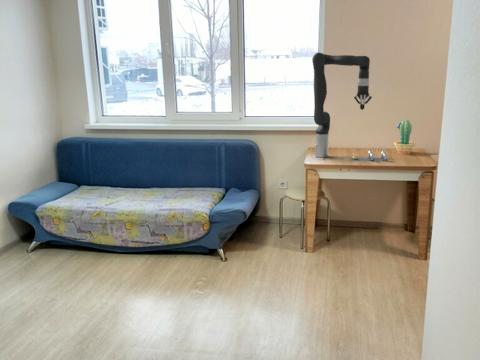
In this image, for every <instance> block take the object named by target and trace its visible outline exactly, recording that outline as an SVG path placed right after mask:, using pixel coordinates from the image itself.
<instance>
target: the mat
mask: <svg viewBox="0 0 480 360" xmlns="http://www.w3.org/2000/svg"><path fill="white" fill-rule="evenodd" d="M349 160H350V162H371V161H370V158H368V157H359V156H358V160H353V159H352V156H351V157H349ZM373 162H384V161H383V159H382V158H381V157H374V161H373ZM385 162H388V160H387V161H385Z"/></svg>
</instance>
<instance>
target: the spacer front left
mask: <svg viewBox="0 0 480 360" xmlns="http://www.w3.org/2000/svg"><path fill="white" fill-rule="evenodd" d="M374 158H375V153H374V152H373V153H371V154H370V161H369V162H375V161H374Z"/></svg>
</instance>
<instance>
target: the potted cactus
mask: <svg viewBox="0 0 480 360" xmlns="http://www.w3.org/2000/svg"><path fill="white" fill-rule="evenodd" d="M396 128H397V130H399V131H398V132H399V134H400V136H399V137H400V139H399V140H398V141H394V142H393V144H394V146H395V149H396V150H397V154H401V155H402V154H403V155H407V154H408V155H410V154H411V151H412V150H413V148H414V147H415V146H416V142H414V141H410V136H411V133H412V131H413V130H412V129H413V125H412V123H411V122H410V120H406V119H404V120H402V121H399V122H398V123H397V124H396Z"/></svg>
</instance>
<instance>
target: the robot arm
mask: <svg viewBox="0 0 480 360" xmlns="http://www.w3.org/2000/svg"><path fill="white" fill-rule="evenodd" d="M311 61H312V66H313V97H314V98H313V99H314V100H313V101H314V103H313V104H314V109H313V112H314V113H313V121H314V123H315V124H316V125H317V126H318V127H317V128H316V130H315V143H314V145H315V152H314V155H315V156H314V157H315V158H326V157H327V158H328V156H329V155H328V153H329V131H330V127H331V116H330V114H329V112H327V111H324V105H325V102H326V99H327V95H328V91H327V90H328V88H327V85H328V84H327V80H326V74H325V66H326V65H336V66H345V67H347V66H349V67H353V66H354V67H355V66H356V67H359V71H358V80H357V93H356V95H355V96H353V99H354V100H355V101H356V103H357V104H358V105H359V109H360V110H362V111H363V110H364V109H365V106H366V104H368V103H369V102H370V101H371V99H373V97H372V95H370V92H369V89H370V87H369V86H370V61H371V60H370V57H369V56H366V55H351V54H350V55H347V54H346V55H341V54H340V55H333V54H332V55H330V54H326V53H322V52H316V53H314V55H313V56H312V60H311Z"/></svg>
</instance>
